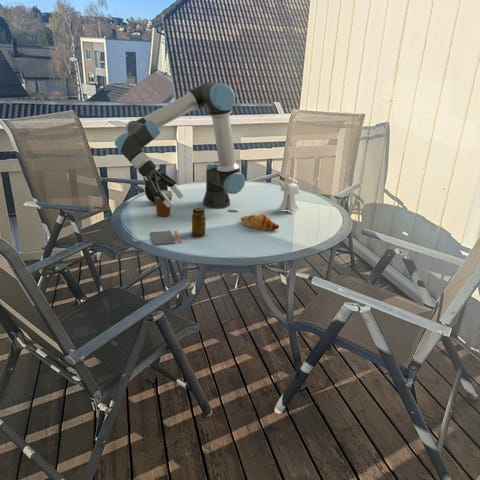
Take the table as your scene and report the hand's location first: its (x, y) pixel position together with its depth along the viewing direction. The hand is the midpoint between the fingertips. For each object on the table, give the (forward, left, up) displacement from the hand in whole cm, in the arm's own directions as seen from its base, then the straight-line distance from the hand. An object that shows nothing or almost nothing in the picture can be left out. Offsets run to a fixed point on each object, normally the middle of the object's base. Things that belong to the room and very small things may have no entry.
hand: (176, 201), depth 184 cm
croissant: (-40, 0, -15) cm, 43 cm away
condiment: (-9, +5, -15) cm, 18 cm away
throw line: (0, +6, -15) cm, 16 cm away
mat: (+7, +6, -15) cm, 18 cm away
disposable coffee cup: (+3, -25, -15) cm, 29 cm away
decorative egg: (+4, -46, -15) cm, 48 cm away
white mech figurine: (-64, -20, -15) cm, 69 cm away
